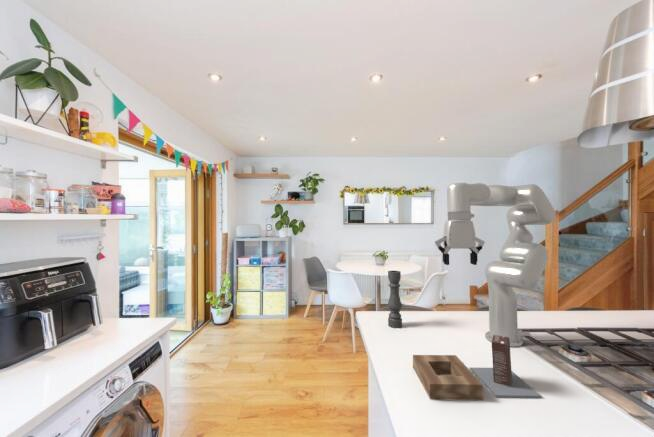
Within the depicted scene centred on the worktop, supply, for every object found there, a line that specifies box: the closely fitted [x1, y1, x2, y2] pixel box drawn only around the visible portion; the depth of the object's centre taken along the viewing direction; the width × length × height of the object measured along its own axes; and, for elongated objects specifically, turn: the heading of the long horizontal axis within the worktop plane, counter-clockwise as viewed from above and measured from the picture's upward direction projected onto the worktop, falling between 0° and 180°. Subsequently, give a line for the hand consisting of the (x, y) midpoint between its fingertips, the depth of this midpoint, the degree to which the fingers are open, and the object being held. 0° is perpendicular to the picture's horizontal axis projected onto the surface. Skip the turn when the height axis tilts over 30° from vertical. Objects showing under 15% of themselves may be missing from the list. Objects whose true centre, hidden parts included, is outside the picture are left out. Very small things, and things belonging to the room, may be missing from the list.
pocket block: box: [412, 354, 484, 401], centre depth 79 cm, size 14×16×4 cm
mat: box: [469, 367, 543, 399], centre depth 79 cm, size 12×14×1 cm
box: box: [491, 335, 513, 387], centre depth 79 cm, size 6×4×12 cm
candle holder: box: [387, 270, 403, 329], centre depth 124 cm, size 6×6×25 cm
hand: (460, 264), depth 97 cm, fingers open, 9 cm apart
